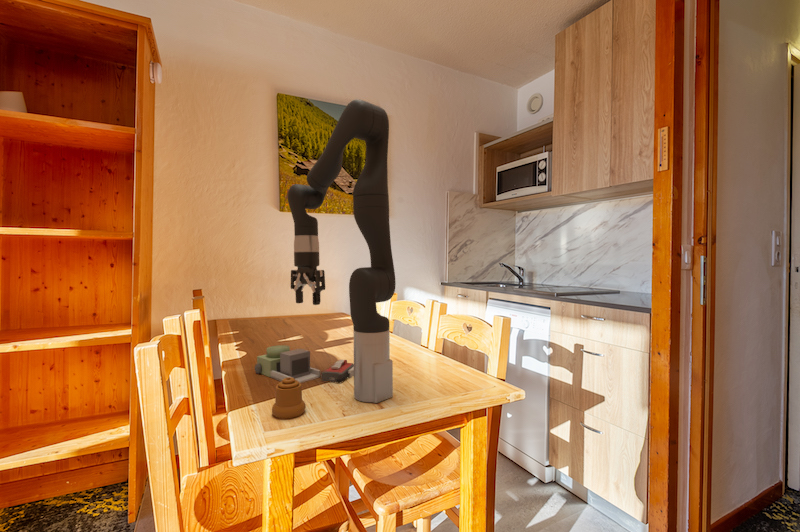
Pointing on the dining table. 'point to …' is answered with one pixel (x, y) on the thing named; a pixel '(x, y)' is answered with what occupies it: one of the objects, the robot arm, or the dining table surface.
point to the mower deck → (271, 365)
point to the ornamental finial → (288, 399)
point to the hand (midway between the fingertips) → (307, 303)
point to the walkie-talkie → (338, 371)
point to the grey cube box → (295, 363)
